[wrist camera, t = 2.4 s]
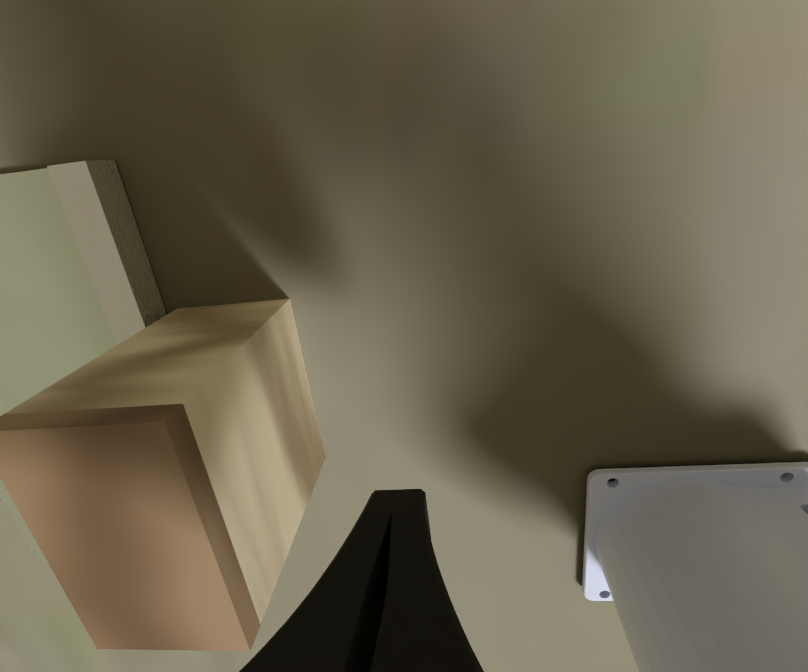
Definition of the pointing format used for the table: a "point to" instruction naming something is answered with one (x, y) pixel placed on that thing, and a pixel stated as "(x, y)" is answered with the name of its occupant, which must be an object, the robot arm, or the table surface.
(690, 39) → the table surface
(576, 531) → the table surface
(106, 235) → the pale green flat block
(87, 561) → the wooden block
